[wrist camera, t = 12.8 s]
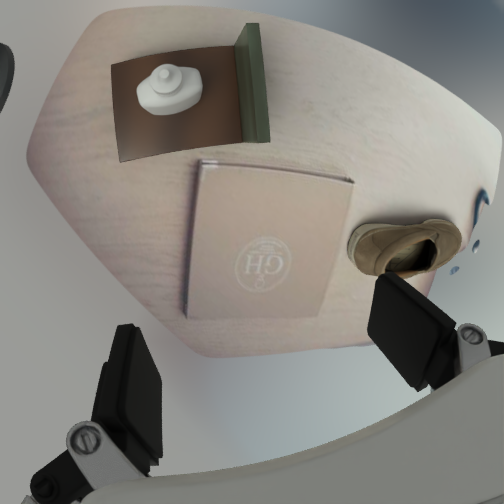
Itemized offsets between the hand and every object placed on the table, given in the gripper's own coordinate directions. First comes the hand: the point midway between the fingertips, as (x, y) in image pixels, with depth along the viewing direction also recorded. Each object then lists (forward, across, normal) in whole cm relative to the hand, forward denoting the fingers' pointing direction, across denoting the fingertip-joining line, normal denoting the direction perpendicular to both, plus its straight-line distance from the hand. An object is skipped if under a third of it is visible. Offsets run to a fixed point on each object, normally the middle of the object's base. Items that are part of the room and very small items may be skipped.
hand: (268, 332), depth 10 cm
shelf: (+28, +3, -12) cm, 31 cm away
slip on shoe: (+28, -35, +13) cm, 47 cm away
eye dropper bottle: (+24, +3, -12) cm, 27 cm away
